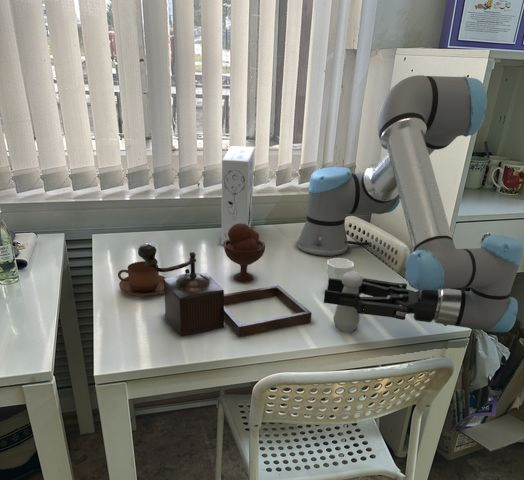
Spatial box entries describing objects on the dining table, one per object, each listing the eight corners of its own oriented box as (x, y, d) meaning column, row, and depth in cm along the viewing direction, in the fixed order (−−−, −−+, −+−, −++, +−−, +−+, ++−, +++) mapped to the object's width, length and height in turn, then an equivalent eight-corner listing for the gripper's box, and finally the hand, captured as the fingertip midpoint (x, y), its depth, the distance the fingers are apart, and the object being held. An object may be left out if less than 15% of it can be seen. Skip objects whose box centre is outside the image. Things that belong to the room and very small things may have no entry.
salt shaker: (341, 336, 113) (348, 281, 106) (327, 324, 117) (334, 270, 110) (363, 331, 115) (372, 277, 108) (349, 320, 119) (356, 267, 113)
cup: (329, 299, 128) (333, 269, 124) (314, 283, 137) (317, 254, 132) (355, 297, 130) (359, 267, 126) (338, 281, 138) (342, 252, 134)
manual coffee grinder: (206, 307, 122) (205, 233, 112) (225, 328, 113) (226, 250, 104) (141, 319, 115) (134, 241, 106) (156, 342, 107) (151, 260, 98)
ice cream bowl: (259, 289, 132) (262, 231, 124) (217, 283, 133) (217, 227, 126) (267, 273, 141) (270, 219, 133) (228, 268, 142) (228, 214, 135)
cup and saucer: (124, 303, 121) (121, 279, 118) (116, 283, 131) (114, 260, 128) (174, 297, 125) (173, 273, 122) (163, 278, 135) (162, 255, 132)
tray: (277, 294, 130) (278, 285, 128) (310, 322, 118) (311, 312, 116) (210, 305, 122) (210, 296, 121) (238, 337, 110) (239, 326, 109)
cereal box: (245, 246, 158) (248, 161, 145) (221, 244, 158) (221, 159, 145) (251, 224, 176) (254, 147, 163) (229, 223, 177) (230, 145, 164)
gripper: (433, 342, 103) (318, 324, 107) (430, 302, 119) (329, 288, 123) (442, 308, 99) (322, 291, 103) (437, 272, 115) (333, 258, 119)
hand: (326, 290), depth 113 cm, fingers open, 6 cm apart
